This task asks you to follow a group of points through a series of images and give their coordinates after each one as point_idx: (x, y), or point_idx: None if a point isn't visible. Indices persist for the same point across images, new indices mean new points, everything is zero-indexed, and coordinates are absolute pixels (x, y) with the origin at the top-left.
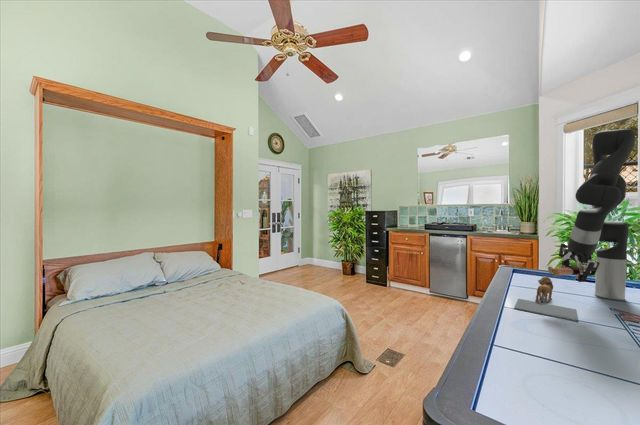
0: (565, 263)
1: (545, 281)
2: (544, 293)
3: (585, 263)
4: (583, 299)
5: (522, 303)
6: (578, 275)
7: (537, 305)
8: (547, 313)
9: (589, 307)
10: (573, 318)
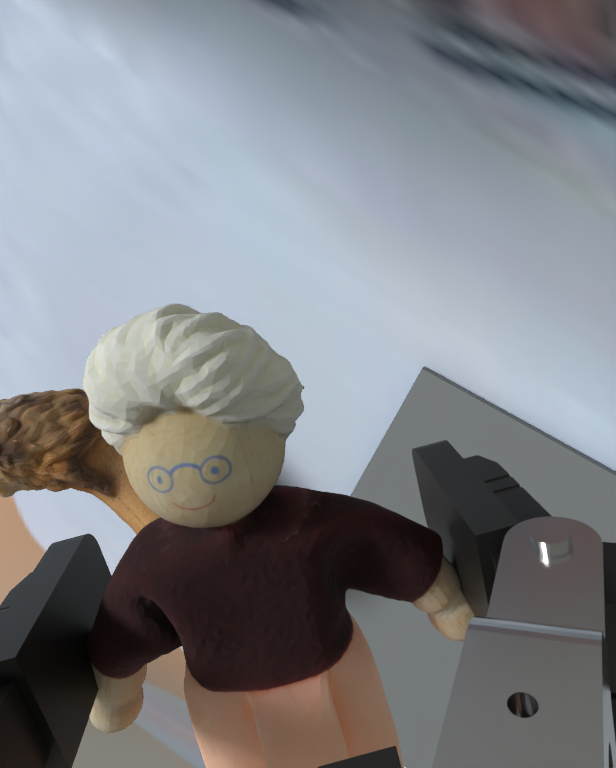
0: (74, 705)
1: (57, 484)
2: None
3: (474, 742)
4: (78, 105)
5: None
6: (454, 597)
7: (398, 629)
8: None
9: (294, 186)
10: None
